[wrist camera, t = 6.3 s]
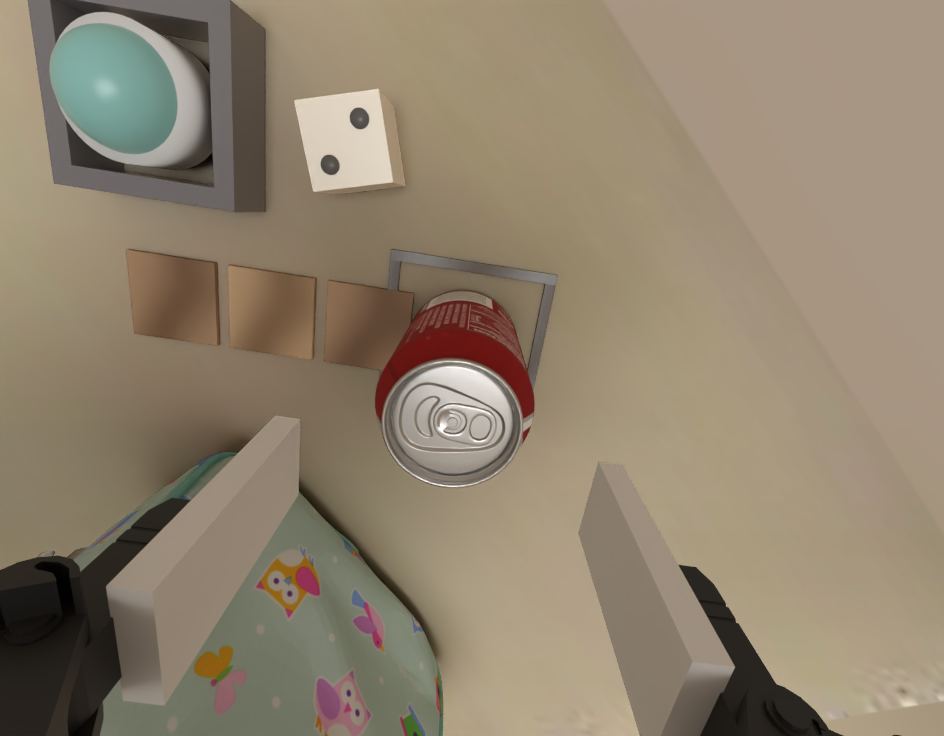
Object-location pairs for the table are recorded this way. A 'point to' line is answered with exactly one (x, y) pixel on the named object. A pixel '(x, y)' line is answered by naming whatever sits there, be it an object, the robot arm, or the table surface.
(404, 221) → the table surface
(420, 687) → the lunch box
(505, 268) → the track
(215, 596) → the robot arm
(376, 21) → the table surface
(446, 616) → the table surface
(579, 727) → the table surface
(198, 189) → the dome housing
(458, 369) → the soda can
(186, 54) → the dome
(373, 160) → the die
